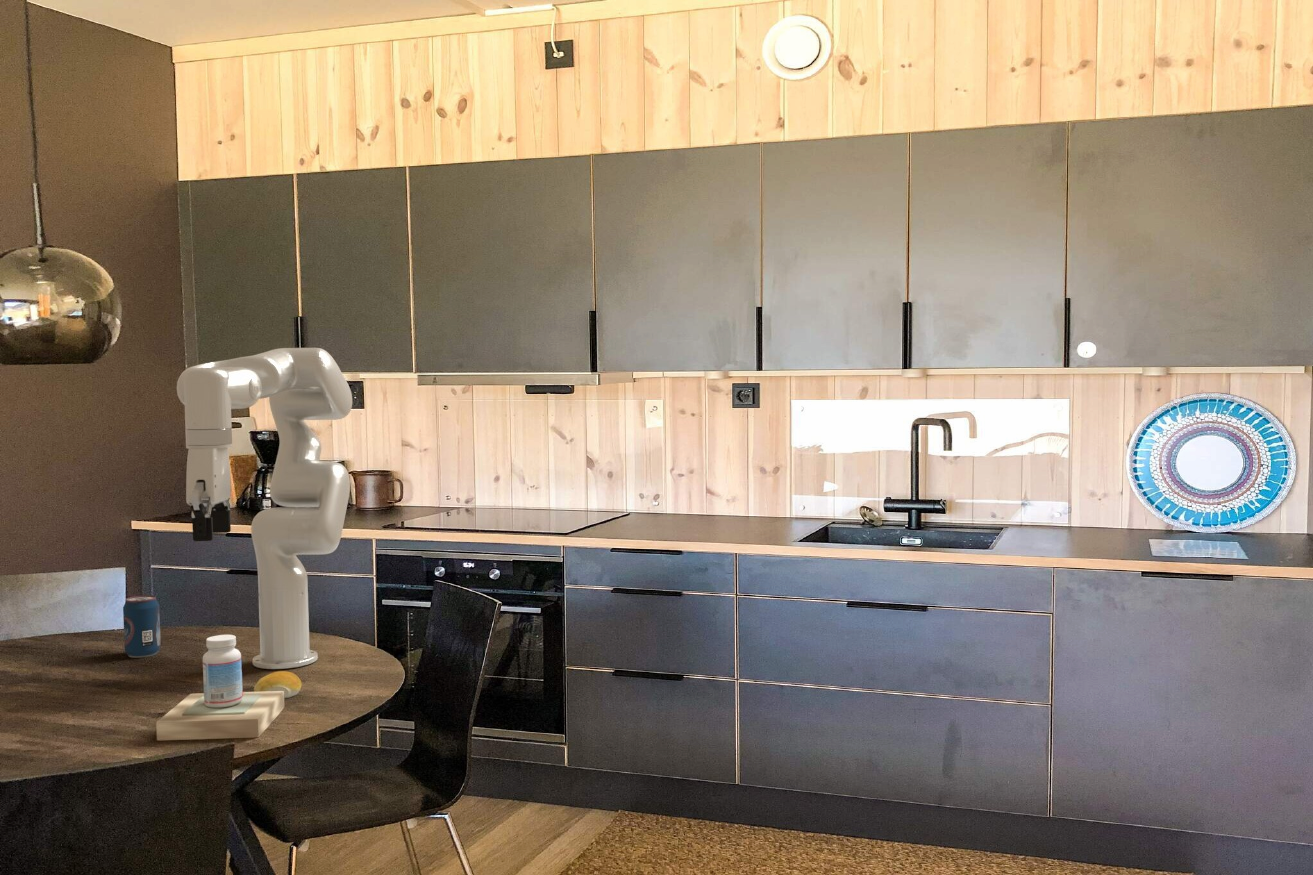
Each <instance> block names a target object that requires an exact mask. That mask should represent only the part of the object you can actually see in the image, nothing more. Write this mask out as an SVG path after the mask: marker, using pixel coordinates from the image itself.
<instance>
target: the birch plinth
mask: <svg viewBox="0 0 1313 875" xmlns="http://www.w3.org/2000/svg"><path fill="white" fill-rule="evenodd" d="M284 709H285V699H284V691H264V692H254V691H243V700H242V701H241V702H240V703H238V704H236V705H233V706H230V707H223V708H212V707H208V706H206V705H205V703H204V692H203V693H190V694H188V695H187V696H186V697H185V698H184V699H183V700H181V701H180V702H179V703H177V705H175V706H173V707H172V709H170V710H169V711H168V712H166V714H164V715H163V716H162V717H161V718H159V719H158V720H157V721H156V722H155V724H156V725H155V726H156V728H155V729H156V741H180V740H181V741H182V740H183V741H186V740H189V741H190V740H208V739H209V740H212V739H213V740H214V739H215V740H216V739H217V740H218V739H244V738H249V739H250V738H259V737H260V736H261V735H262V734H263V733H264V732H265V730H267V728H269V726H270V725H271V724H272V723H273V722H274V720H275V719H276V718H277V717H278V716H279V715H280V714H281V712H282V711H283V710H284Z"/></svg>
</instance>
